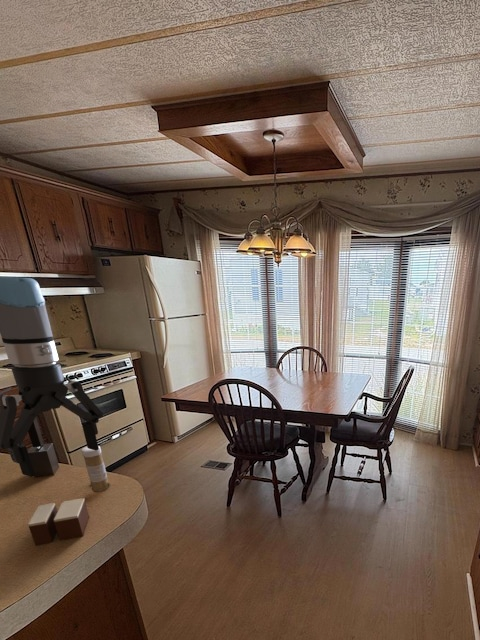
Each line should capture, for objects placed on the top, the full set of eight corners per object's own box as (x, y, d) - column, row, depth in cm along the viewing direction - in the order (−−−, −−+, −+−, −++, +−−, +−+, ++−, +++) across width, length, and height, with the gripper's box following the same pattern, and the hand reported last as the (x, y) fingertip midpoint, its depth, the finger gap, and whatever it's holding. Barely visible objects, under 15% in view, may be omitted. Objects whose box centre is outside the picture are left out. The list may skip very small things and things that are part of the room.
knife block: (41, 473, 109) (32, 445, 105) (60, 471, 111) (52, 443, 107) (35, 482, 104) (25, 453, 100) (55, 479, 106) (46, 450, 102)
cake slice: (45, 525, 86) (38, 505, 84) (61, 522, 87) (54, 502, 85) (35, 545, 79) (27, 524, 77) (52, 542, 80) (45, 521, 78)
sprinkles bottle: (98, 484, 104) (87, 444, 99) (113, 484, 104) (103, 444, 99) (88, 492, 100) (77, 451, 95) (104, 492, 100) (93, 451, 95)
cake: (68, 521, 88) (62, 501, 85) (89, 517, 90) (84, 497, 87) (60, 540, 81) (53, 519, 79) (83, 536, 83) (77, 515, 80)
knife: (46, 475, 108) (27, 415, 100) (53, 474, 109) (35, 415, 101) (43, 479, 106) (23, 419, 98) (51, 478, 106) (32, 418, 99)
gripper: (-35, 379, 54) (7, 493, 62) (108, 356, 76) (126, 442, 84) (-62, 374, 57) (-17, 484, 65) (84, 352, 78) (104, 437, 86)
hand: (63, 460), depth 74 cm, fingers open, 13 cm apart
